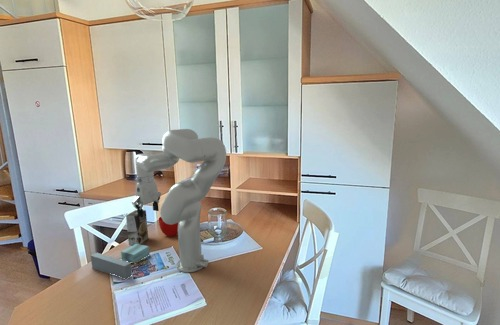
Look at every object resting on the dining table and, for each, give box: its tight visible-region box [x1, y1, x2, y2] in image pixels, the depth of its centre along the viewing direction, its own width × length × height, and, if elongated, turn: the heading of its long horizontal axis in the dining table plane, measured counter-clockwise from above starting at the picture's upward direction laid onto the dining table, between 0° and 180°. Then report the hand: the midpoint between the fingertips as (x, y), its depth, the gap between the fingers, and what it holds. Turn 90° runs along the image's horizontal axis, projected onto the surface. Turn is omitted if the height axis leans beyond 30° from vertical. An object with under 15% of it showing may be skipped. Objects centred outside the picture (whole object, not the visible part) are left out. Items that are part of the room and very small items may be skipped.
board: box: [90, 252, 133, 280], centre depth 123 cm, size 22×3×6 cm, turn 62°
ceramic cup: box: [158, 216, 179, 238], centre depth 160 cm, size 13×17×10 cm
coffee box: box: [125, 209, 149, 246], centre depth 153 cm, size 9×6×16 cm
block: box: [120, 244, 150, 263], centre depth 135 cm, size 8×9×5 cm
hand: (148, 213), depth 141 cm, fingers open, 9 cm apart
